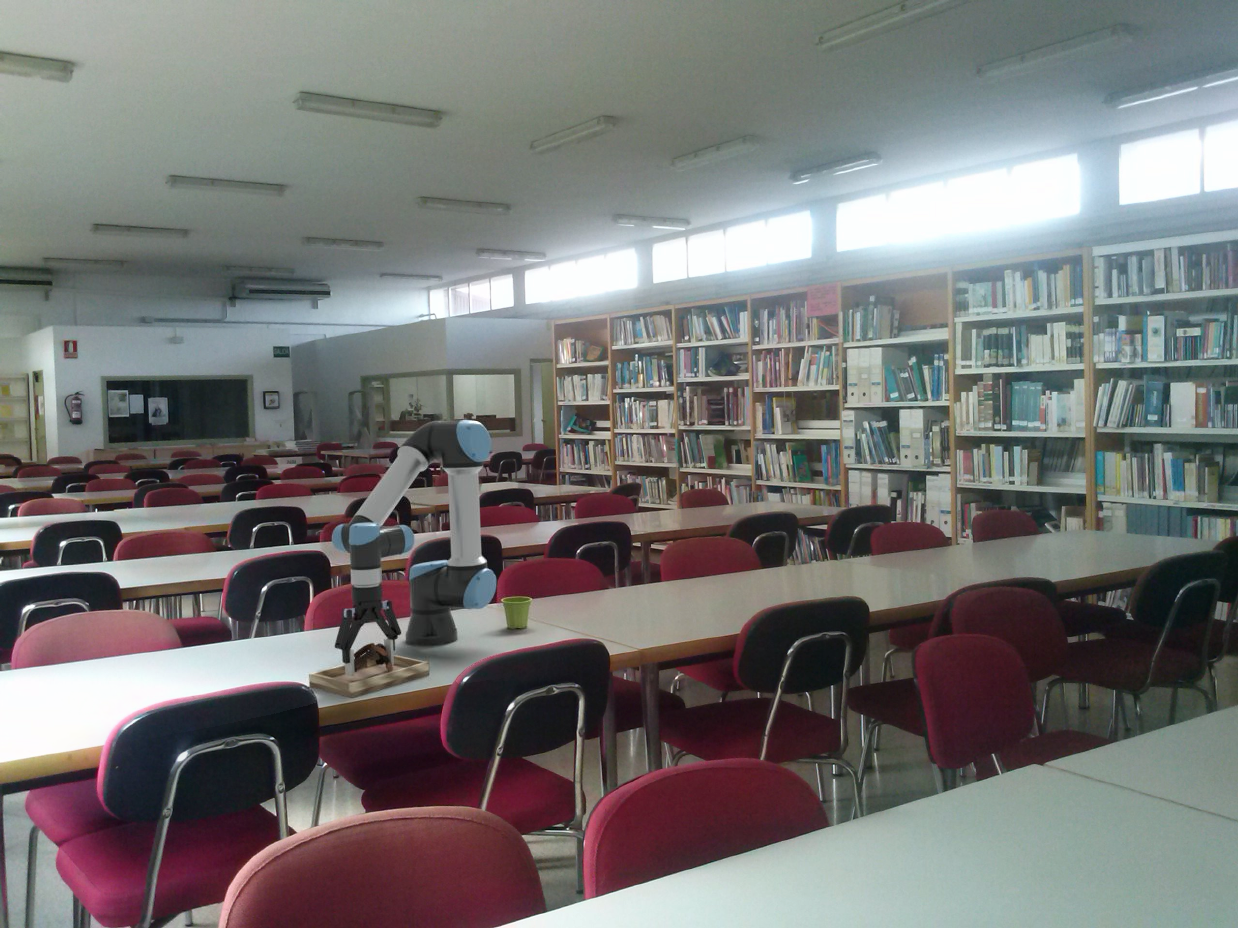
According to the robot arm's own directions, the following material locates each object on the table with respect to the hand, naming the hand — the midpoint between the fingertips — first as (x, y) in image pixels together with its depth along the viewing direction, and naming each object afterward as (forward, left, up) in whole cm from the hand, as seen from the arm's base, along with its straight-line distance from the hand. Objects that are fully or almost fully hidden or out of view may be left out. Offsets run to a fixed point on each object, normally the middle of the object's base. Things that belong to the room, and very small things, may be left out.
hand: (370, 669), depth 249 cm
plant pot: (-64, -10, -3) cm, 65 cm away
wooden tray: (0, 0, -3) cm, 3 cm away
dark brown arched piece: (0, +1, 0) cm, 1 cm away
